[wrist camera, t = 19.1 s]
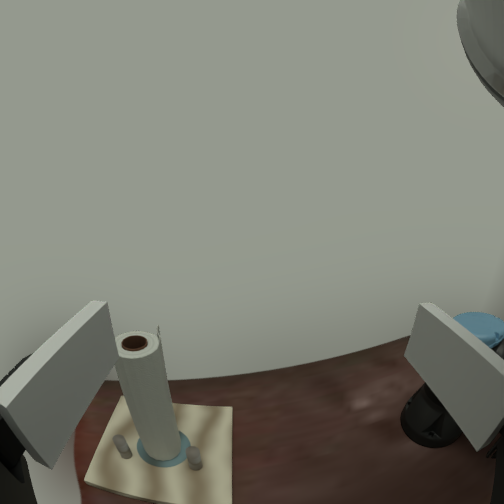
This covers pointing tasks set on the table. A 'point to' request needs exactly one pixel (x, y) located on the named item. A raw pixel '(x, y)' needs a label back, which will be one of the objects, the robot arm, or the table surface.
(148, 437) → the paper towel roll
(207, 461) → the plate
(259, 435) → the table surface
